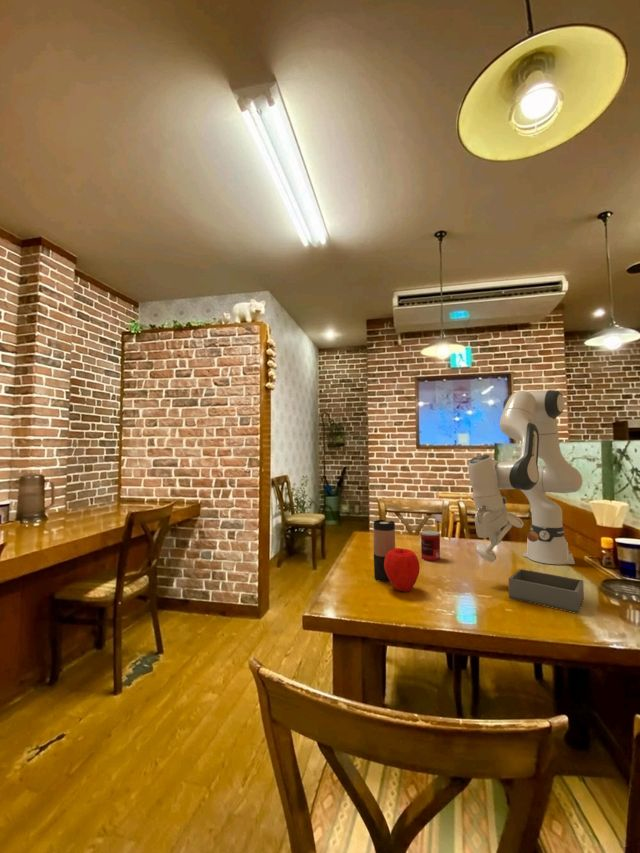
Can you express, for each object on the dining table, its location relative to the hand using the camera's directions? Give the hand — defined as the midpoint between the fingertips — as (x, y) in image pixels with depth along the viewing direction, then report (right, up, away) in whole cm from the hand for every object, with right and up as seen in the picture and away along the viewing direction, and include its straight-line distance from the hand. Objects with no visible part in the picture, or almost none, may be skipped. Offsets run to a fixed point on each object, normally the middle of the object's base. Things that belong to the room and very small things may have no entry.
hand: (496, 544), depth 133 cm
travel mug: (-37, -15, +7) cm, 40 cm away
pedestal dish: (-3, -4, +3) cm, 6 cm away
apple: (-33, -14, -4) cm, 36 cm away
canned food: (-13, -16, +32) cm, 38 cm away
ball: (+8, +5, -8) cm, 12 cm away
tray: (+10, -14, -12) cm, 21 cm away
